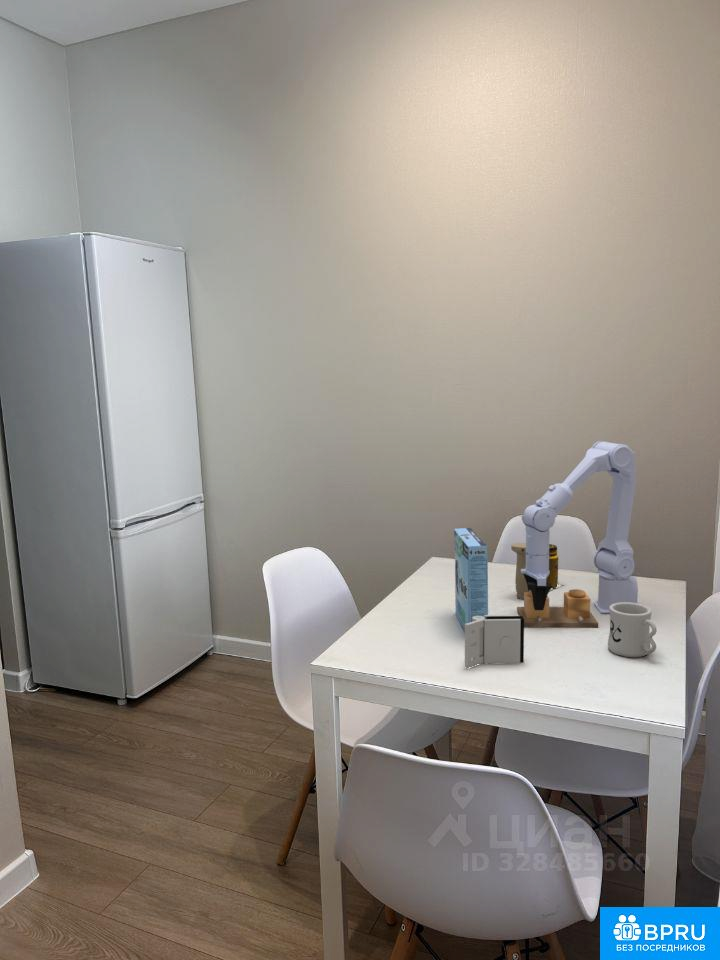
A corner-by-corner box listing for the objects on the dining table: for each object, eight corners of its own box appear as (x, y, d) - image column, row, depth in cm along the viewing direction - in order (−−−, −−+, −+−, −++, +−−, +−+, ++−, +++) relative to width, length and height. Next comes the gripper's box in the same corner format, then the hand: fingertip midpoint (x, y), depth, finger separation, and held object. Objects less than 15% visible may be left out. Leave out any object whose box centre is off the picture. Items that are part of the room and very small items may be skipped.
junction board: (586, 611, 194) (587, 584, 193) (598, 627, 183) (599, 599, 181) (517, 611, 196) (517, 584, 195) (523, 627, 184) (524, 599, 183)
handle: (534, 601, 203) (535, 547, 201) (510, 600, 205) (510, 546, 202) (534, 596, 208) (535, 543, 205) (511, 594, 209) (511, 542, 207)
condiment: (563, 585, 217) (564, 545, 215) (548, 592, 211) (548, 551, 209) (542, 580, 222) (542, 541, 220) (525, 587, 216) (526, 546, 214)
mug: (598, 647, 170) (600, 605, 169) (629, 640, 174) (631, 599, 172) (638, 667, 159) (640, 622, 158) (670, 659, 163) (672, 615, 161)
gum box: (488, 640, 176) (489, 545, 173) (467, 640, 176) (467, 546, 172) (473, 612, 195) (473, 527, 192) (453, 613, 195) (453, 528, 192)
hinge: (465, 670, 160) (465, 625, 158) (457, 660, 165) (457, 616, 163) (526, 663, 162) (526, 619, 161) (516, 654, 168) (517, 611, 166)
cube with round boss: (545, 611, 192) (545, 588, 191) (548, 618, 186) (549, 595, 186) (523, 610, 192) (524, 588, 191) (527, 618, 187) (527, 595, 186)
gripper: (517, 545, 194) (516, 596, 196) (525, 560, 180) (524, 614, 182) (544, 545, 194) (543, 596, 196) (555, 560, 179) (554, 614, 182)
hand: (536, 605), depth 189 cm, fingers open, 7 cm apart
